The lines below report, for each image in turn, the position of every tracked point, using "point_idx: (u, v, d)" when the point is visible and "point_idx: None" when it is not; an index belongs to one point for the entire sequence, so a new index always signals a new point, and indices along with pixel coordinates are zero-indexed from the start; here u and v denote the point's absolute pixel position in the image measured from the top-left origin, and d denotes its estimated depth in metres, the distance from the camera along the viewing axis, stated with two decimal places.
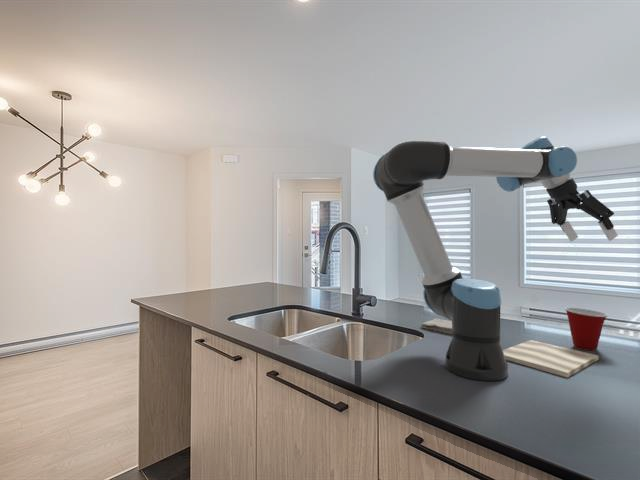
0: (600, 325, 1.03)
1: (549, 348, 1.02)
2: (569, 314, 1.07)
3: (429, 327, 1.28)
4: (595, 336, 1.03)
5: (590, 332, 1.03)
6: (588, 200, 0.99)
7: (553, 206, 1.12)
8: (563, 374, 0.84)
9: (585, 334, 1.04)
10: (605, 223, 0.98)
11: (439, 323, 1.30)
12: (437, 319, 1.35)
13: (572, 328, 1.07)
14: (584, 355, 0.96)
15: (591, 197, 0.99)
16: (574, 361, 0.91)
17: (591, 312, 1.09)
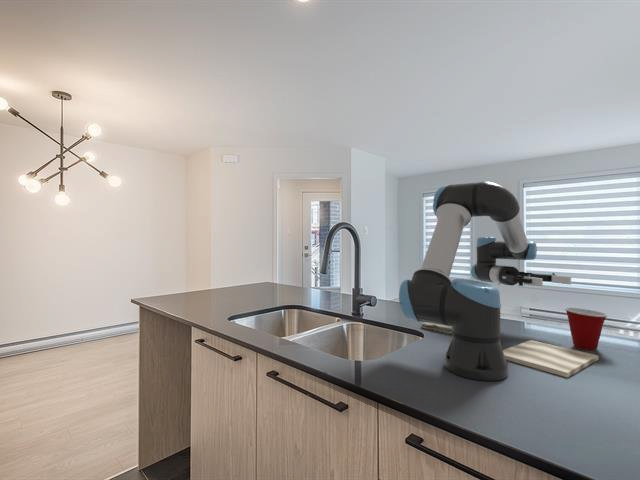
0: (600, 325, 1.03)
1: (549, 348, 1.02)
2: (569, 314, 1.07)
3: (429, 327, 1.28)
4: (595, 336, 1.03)
5: (590, 332, 1.03)
6: None
7: None
8: (563, 374, 0.84)
9: (585, 334, 1.04)
10: None
11: None
12: None
13: (572, 328, 1.07)
14: (584, 355, 0.96)
15: None
16: (574, 361, 0.91)
17: (591, 312, 1.09)
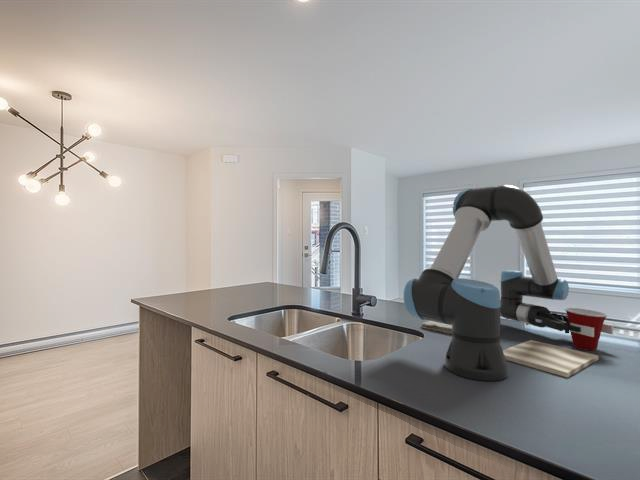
0: (599, 325, 1.02)
1: (549, 348, 1.02)
2: (569, 314, 1.07)
3: (429, 327, 1.29)
4: (594, 336, 1.03)
5: None
6: None
7: None
8: (563, 374, 0.84)
9: None
10: None
11: (439, 323, 1.30)
12: None
13: None
14: (584, 355, 0.96)
15: None
16: (574, 361, 0.91)
17: (591, 312, 1.09)
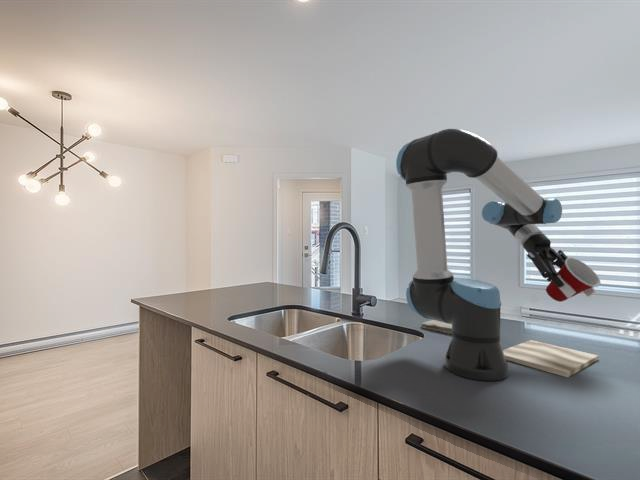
0: (584, 289, 0.98)
1: (549, 348, 1.02)
2: (564, 268, 1.00)
3: (429, 327, 1.29)
4: None
5: None
6: None
7: None
8: (563, 374, 0.84)
9: None
10: None
11: (439, 323, 1.30)
12: None
13: None
14: (584, 355, 0.96)
15: None
16: (574, 361, 0.91)
17: (588, 270, 1.02)
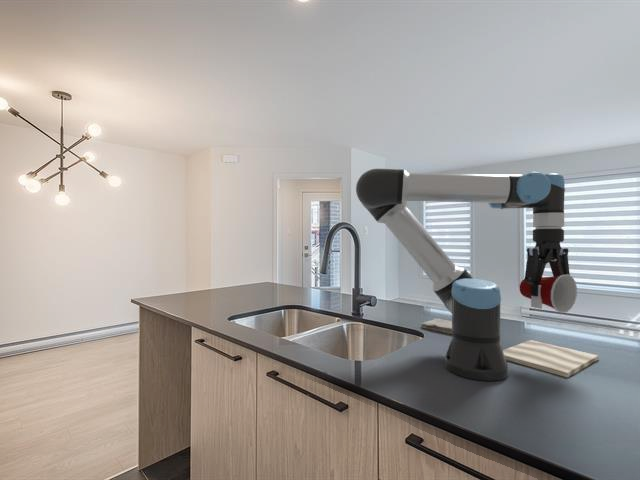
0: None
1: (549, 348, 1.02)
2: (549, 285, 0.92)
3: (429, 327, 1.29)
4: None
5: None
6: None
7: None
8: (563, 374, 0.84)
9: None
10: None
11: (439, 323, 1.30)
12: (437, 319, 1.35)
13: None
14: (584, 355, 0.96)
15: None
16: (574, 361, 0.91)
17: (573, 287, 0.94)
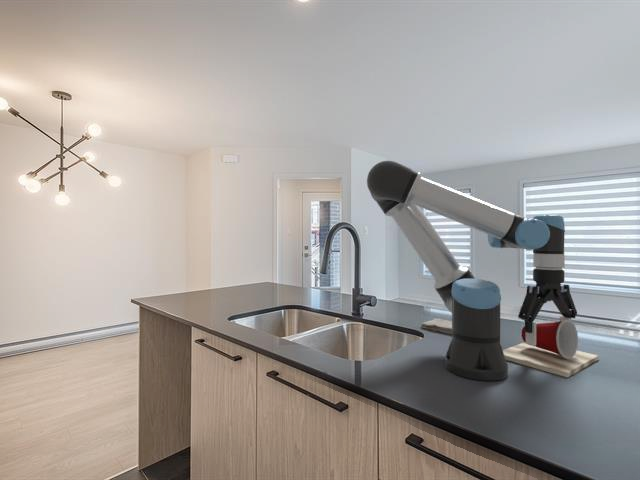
0: (554, 352, 0.95)
1: None
2: (555, 326, 0.94)
3: (429, 327, 1.29)
4: (539, 347, 0.98)
5: (540, 344, 0.97)
6: None
7: None
8: (563, 374, 0.84)
9: (536, 340, 0.97)
10: None
11: (439, 323, 1.30)
12: (437, 319, 1.35)
13: (540, 328, 0.97)
14: (584, 355, 0.96)
15: None
16: (574, 361, 0.91)
17: (574, 338, 0.96)
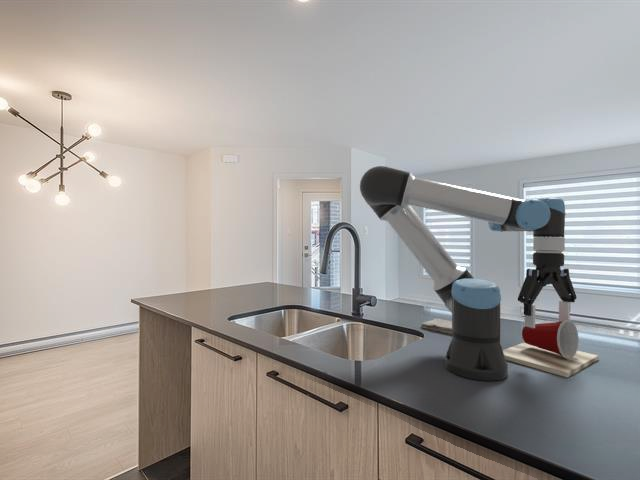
0: (554, 352, 0.95)
1: None
2: (556, 326, 0.94)
3: (429, 327, 1.29)
4: (539, 346, 0.98)
5: (541, 344, 0.97)
6: None
7: None
8: (563, 374, 0.84)
9: (537, 339, 0.98)
10: None
11: (439, 323, 1.30)
12: (437, 319, 1.35)
13: (541, 327, 0.98)
14: (584, 355, 0.96)
15: None
16: (574, 361, 0.91)
17: (574, 339, 0.97)
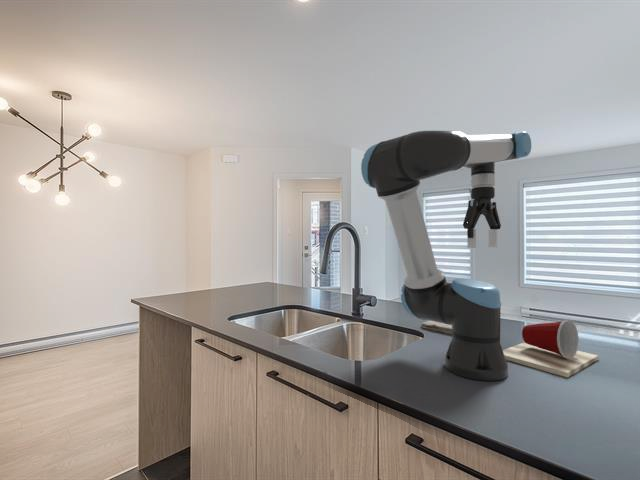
0: (554, 352, 0.95)
1: None
2: (556, 326, 0.94)
3: (429, 327, 1.29)
4: (539, 346, 0.98)
5: (541, 344, 0.97)
6: None
7: None
8: (563, 374, 0.84)
9: (537, 339, 0.98)
10: None
11: (439, 323, 1.30)
12: None
13: (541, 327, 0.98)
14: (584, 355, 0.96)
15: None
16: (574, 361, 0.91)
17: (574, 339, 0.97)
